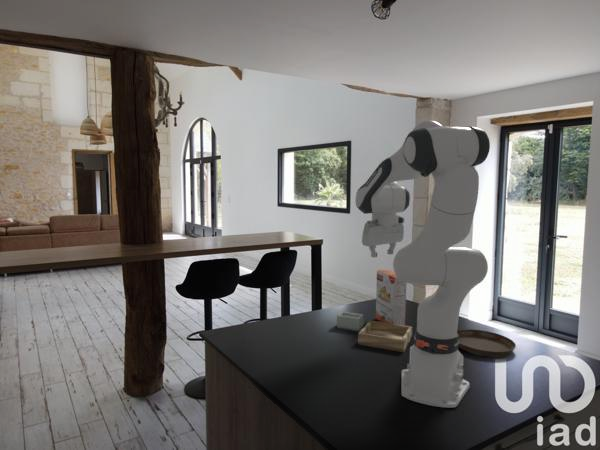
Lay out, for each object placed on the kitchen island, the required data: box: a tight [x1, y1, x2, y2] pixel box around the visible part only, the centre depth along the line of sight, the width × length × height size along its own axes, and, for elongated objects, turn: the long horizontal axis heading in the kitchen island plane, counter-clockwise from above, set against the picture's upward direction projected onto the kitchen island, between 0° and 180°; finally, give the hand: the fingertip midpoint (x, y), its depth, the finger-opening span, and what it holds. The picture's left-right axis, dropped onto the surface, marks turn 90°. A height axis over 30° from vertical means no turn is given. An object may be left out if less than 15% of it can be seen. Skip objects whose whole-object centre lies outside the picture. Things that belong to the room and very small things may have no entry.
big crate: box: [357, 320, 413, 353], centre depth 152 cm, size 16×16×4 cm
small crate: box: [336, 311, 364, 332], centre depth 166 cm, size 6×9×5 cm, turn 65°
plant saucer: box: [457, 328, 517, 358], centre depth 147 cm, size 21×21×3 cm
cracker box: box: [375, 269, 407, 326], centre depth 170 cm, size 14×6×21 cm, turn 19°
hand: (382, 255), depth 158 cm, fingers open, 8 cm apart
